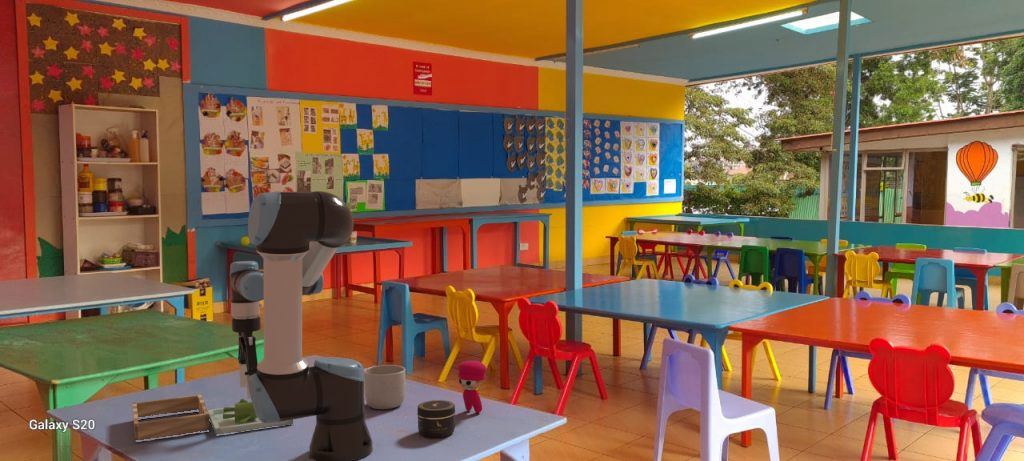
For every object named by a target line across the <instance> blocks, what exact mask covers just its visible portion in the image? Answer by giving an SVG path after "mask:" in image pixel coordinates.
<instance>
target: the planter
mask: <svg viewBox="0 0 1024 461" xmlns="http://www.w3.org/2000/svg"><path fill="white" fill-rule="evenodd" d="M363 375H364V380H365V381H364V399H365V402H366V405H367V406H369V407H370V408H372V409H376V410H391V409H394V408H395V409H396V408H398V407H399V406H401V405H402V404H403V402H404V400H405V396H406V367H404V366H401V365H398V364H397V365H396V364H382V365H374V366H371V367H370V366H369V367H367V368H365V369H363Z"/></svg>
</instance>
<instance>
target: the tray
mask: <svg viewBox="0 0 1024 461" xmlns="http://www.w3.org/2000/svg"><path fill="white" fill-rule="evenodd" d="M232 407H235V405H234V406H232ZM207 410H208V412H209V419H210V421H211V424H212V426H213V429H214V431H213V433H214V432H215V433H214V435H215V434H216V435H217V434H224V433H231V432H241V431H246V430H253V429H259V428H266V427H272V426H283V425H289V424H293V425H294V419H293V420H287V421H282V422H280V423H279V422H274V423H263V422H261V421H260V420H259V419H258V418H256V419H253V420H251V421H250V420H247V421H246V422H244V423H243V424H240V423H239V422H237V421H235V417H233V418H228V419H223V414H235V411H228V412H225V413H224V407H218V408H213V409H207ZM210 421H209V422H210ZM211 424H210V425H211ZM212 426H211V427H212ZM213 429H212V430H213Z"/></svg>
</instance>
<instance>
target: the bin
mask: <svg viewBox="0 0 1024 461" xmlns="http://www.w3.org/2000/svg"><path fill="white" fill-rule="evenodd" d="M197 409H198V410H199V413H200V414H199V413H197V414H192V415H191V414H190V415H185V416H183V415H182V416H179V417H178V416H175V417H172V418H171V417H168V418H162V419H157V420H155V419H154V420H150V421H142V422H139V421H138V417H145V416H151V415H152V416H153V415H159V414H167V413H177V412H184V411H191V410H197ZM208 410H209V409H208V407H207V404H205V401H204V398H203V396H202V394H201V393H200V394H192V395H185V396H178V397H170V398H161V399H154V400H153V399H152V400H146V401H139V402H138V401H137V402H132V421H134V422H133V433H134V434H135V436H134V441H135V440H144V439H151V438H159V437H166V436H173V435H181V434H186V433H193V432H198V431H200V432H201V431H207V430H211V428H210V427H211V424H210V421H209V412H208ZM134 434H133V435H134Z"/></svg>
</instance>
